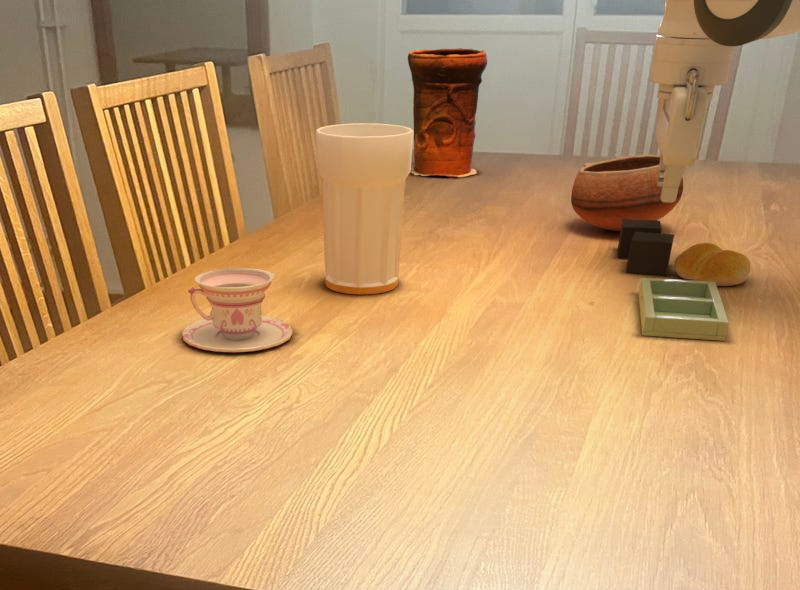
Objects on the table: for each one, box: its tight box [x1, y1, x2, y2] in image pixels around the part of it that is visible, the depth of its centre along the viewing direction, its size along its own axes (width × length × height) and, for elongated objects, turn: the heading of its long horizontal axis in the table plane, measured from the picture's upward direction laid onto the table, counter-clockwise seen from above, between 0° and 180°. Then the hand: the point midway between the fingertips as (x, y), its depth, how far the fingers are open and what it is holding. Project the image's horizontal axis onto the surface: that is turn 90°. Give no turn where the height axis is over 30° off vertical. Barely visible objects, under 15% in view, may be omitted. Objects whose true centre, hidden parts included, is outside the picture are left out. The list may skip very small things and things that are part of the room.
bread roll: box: [673, 242, 751, 287], centre depth 121 cm, size 8×9×4 cm
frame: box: [637, 277, 730, 342], centre depth 109 cm, size 8×16×2 cm, turn 166°
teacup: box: [181, 267, 294, 353], centre depth 103 cm, size 12×12×6 cm
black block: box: [617, 219, 662, 259], centre depth 131 cm, size 5×5×4 cm
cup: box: [315, 122, 414, 296], centre depth 116 cm, size 11×11×17 cm
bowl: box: [570, 154, 684, 232], centre depth 142 cm, size 16×16×10 cm
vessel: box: [407, 47, 488, 178], centre depth 179 cm, size 14×14×20 cm
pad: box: [625, 232, 675, 276], centre depth 125 cm, size 5×5×4 cm
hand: (665, 193), depth 120 cm, fingers open, 8 cm apart
